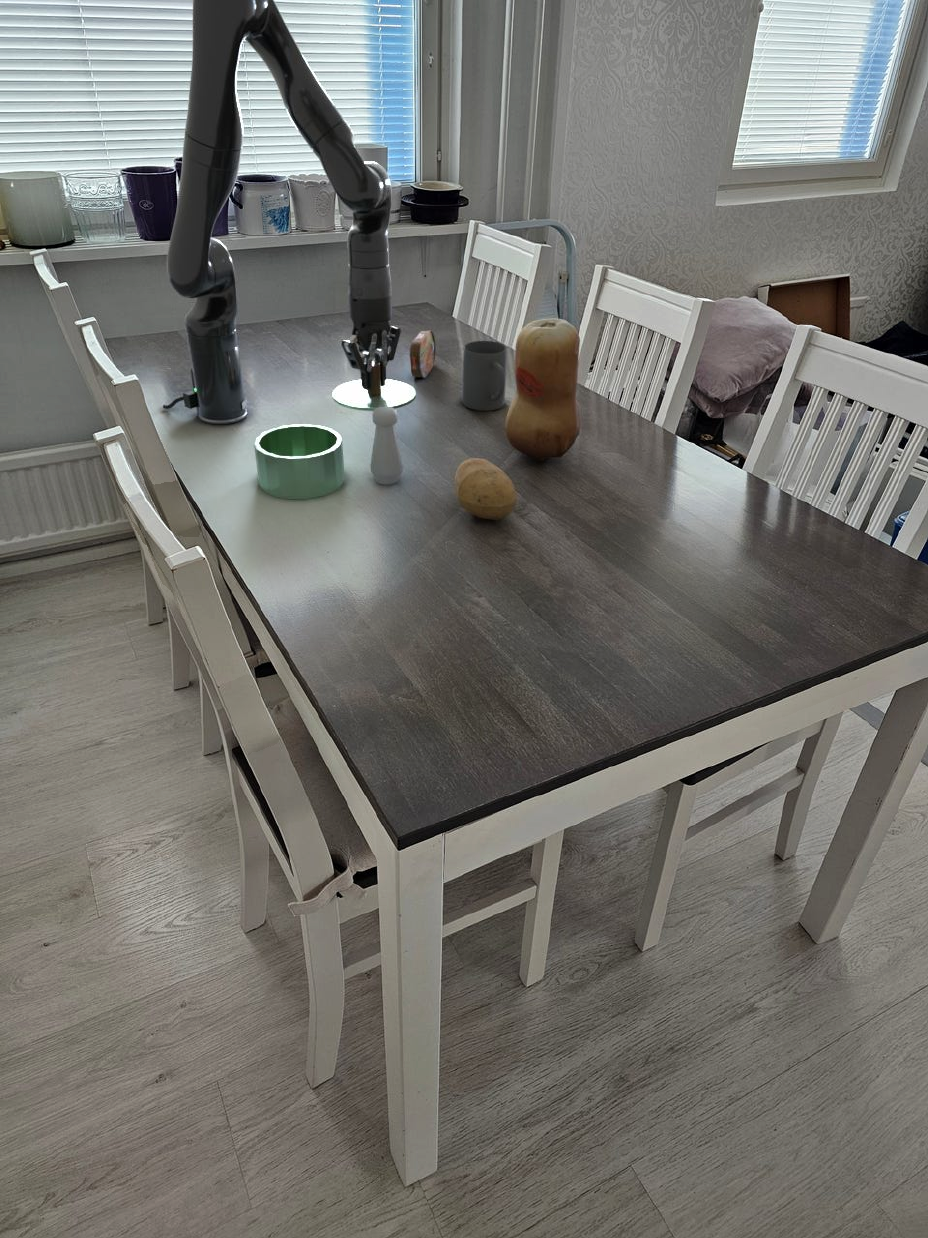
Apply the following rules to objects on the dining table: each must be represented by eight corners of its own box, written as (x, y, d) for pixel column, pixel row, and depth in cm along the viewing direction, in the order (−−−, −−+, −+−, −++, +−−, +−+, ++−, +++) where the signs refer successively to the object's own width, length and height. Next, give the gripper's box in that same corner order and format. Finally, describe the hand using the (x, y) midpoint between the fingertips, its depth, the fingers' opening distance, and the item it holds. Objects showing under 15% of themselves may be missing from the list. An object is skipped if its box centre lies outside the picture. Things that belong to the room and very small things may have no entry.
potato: (473, 538, 134) (475, 492, 130) (442, 500, 145) (443, 456, 140) (529, 528, 137) (533, 483, 133) (495, 491, 148) (497, 448, 143)
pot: (243, 491, 146) (237, 450, 142) (285, 458, 158) (281, 419, 153) (321, 505, 142) (317, 464, 138) (357, 470, 154) (355, 431, 150)
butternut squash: (489, 456, 160) (494, 320, 146) (534, 436, 168) (543, 305, 154) (547, 479, 152) (559, 337, 138) (591, 457, 161) (607, 322, 146)
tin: (421, 382, 192) (421, 345, 188) (408, 381, 193) (407, 344, 188) (436, 362, 205) (436, 326, 200) (423, 361, 205) (423, 325, 200)
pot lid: (318, 407, 157) (315, 371, 153) (354, 380, 169) (352, 346, 165) (397, 418, 153) (396, 382, 149) (427, 390, 165) (427, 356, 161)
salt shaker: (370, 472, 153) (367, 402, 146) (403, 472, 154) (401, 402, 146) (370, 487, 148) (367, 415, 141) (403, 486, 149) (402, 415, 141)
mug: (455, 398, 185) (456, 342, 178) (493, 393, 188) (495, 338, 181) (481, 421, 174) (483, 362, 168) (521, 415, 177) (524, 357, 171)
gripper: (381, 280, 157) (384, 374, 166) (326, 295, 147) (332, 392, 157) (412, 287, 153) (413, 382, 163) (357, 302, 144) (362, 402, 153)
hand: (373, 387), depth 160 cm, fingers closed on pot lid, 2 cm apart
